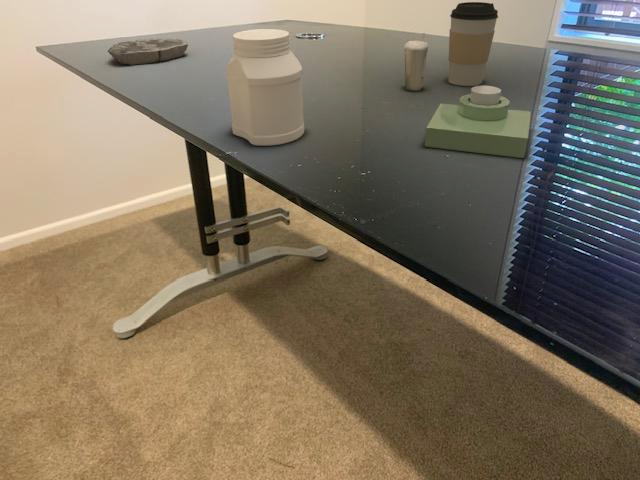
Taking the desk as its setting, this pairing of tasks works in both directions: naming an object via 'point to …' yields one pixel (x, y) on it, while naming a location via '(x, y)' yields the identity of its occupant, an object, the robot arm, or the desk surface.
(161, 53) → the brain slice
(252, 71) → the jar
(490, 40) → the coffee cup
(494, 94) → the flush button
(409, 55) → the milkshake
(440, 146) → the panel
